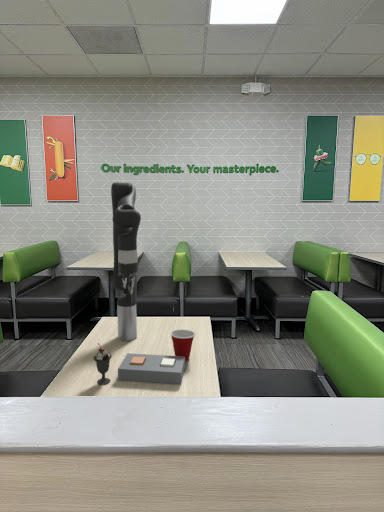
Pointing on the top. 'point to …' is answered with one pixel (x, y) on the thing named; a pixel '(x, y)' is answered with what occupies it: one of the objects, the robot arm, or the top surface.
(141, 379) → the key panel
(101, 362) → the sundae
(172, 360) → the ivory key
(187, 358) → the plastic cup
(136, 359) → the terracotta key
